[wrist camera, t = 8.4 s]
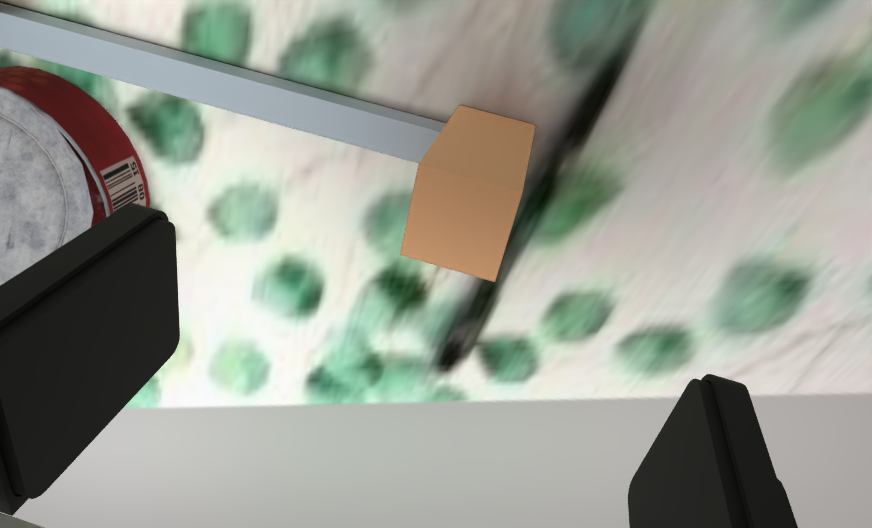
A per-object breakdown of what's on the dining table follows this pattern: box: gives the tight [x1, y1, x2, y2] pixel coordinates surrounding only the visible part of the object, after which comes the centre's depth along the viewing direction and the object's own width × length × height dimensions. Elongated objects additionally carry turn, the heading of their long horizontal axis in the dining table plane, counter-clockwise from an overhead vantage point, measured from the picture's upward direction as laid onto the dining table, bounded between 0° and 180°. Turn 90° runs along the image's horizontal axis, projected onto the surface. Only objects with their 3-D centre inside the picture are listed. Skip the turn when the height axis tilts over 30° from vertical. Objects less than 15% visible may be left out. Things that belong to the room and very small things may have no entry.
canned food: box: [0, 66, 150, 285], centre depth 26 cm, size 11×10×10 cm
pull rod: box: [0, 3, 536, 282], centre depth 24 cm, size 28×14×7 cm, turn 78°
